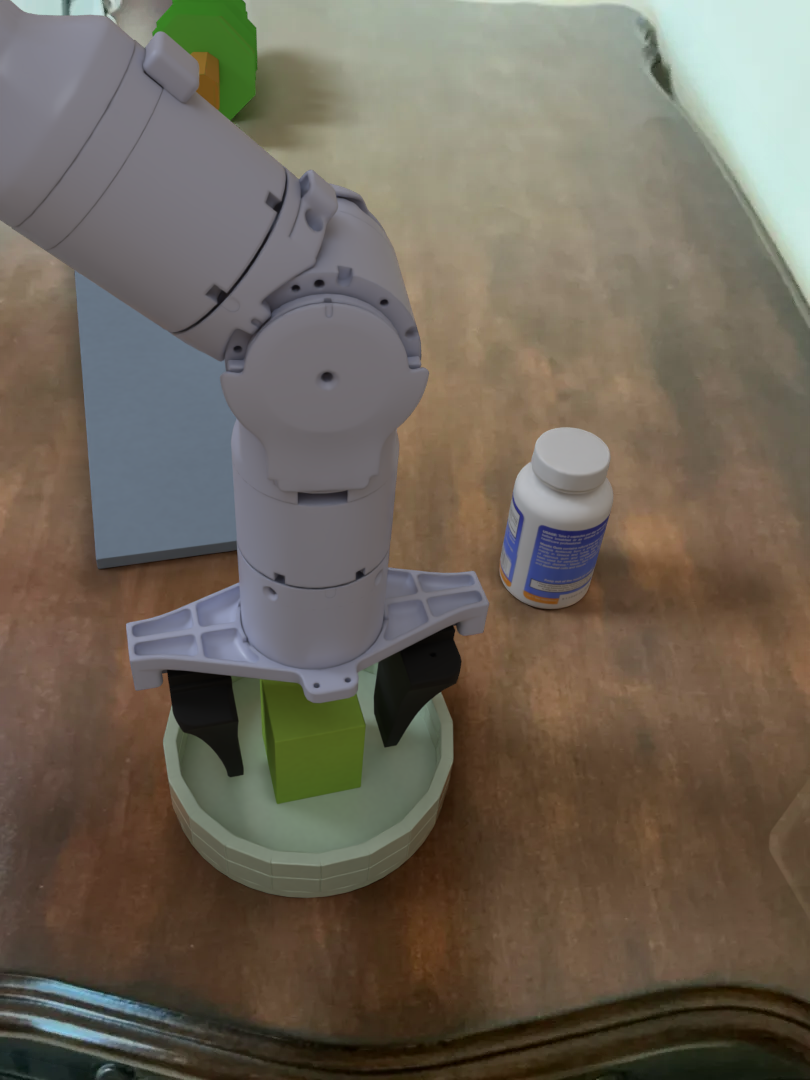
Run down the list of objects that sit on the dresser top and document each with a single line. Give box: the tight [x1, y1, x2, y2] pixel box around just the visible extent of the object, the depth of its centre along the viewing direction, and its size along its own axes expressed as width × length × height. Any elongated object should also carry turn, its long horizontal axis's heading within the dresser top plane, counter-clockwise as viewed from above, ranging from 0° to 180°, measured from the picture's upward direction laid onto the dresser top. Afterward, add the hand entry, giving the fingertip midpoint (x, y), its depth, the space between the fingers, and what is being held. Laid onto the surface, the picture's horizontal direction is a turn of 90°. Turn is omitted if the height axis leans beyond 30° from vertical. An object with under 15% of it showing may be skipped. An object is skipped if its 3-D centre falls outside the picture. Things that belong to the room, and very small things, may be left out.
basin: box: [162, 662, 454, 899], centre depth 46 cm, size 13×13×3 cm
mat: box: [74, 270, 237, 570], centre depth 68 cm, size 36×10×1 cm, turn 16°
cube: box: [260, 679, 366, 804], centre depth 45 cm, size 4×4×5 cm
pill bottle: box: [498, 426, 614, 610], centre depth 54 cm, size 5×5×10 cm
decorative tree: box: [151, 0, 259, 121], centre depth 104 cm, size 11×12×30 cm
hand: (310, 743), depth 45 cm, fingers open, 7 cm apart
